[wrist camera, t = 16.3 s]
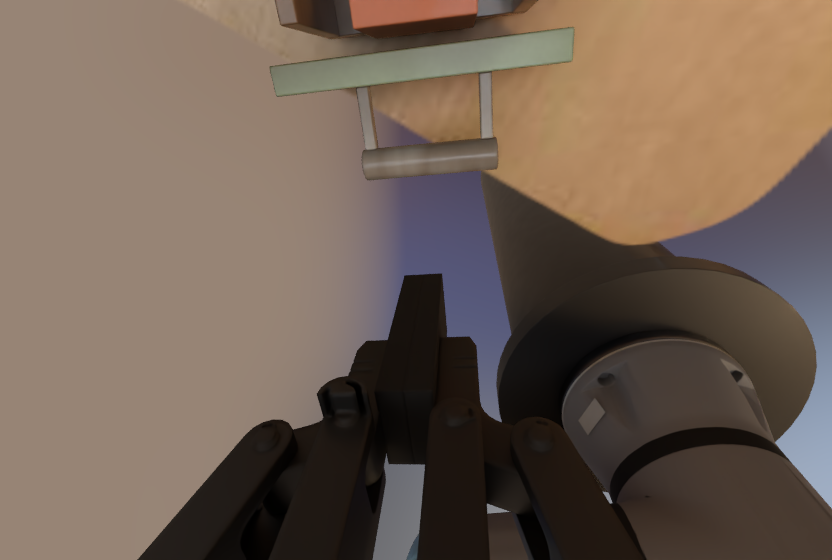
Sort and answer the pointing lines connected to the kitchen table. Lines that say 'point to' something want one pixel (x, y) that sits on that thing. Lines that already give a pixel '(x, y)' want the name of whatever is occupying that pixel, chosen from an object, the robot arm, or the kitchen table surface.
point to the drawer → (331, 18)
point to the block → (411, 16)
